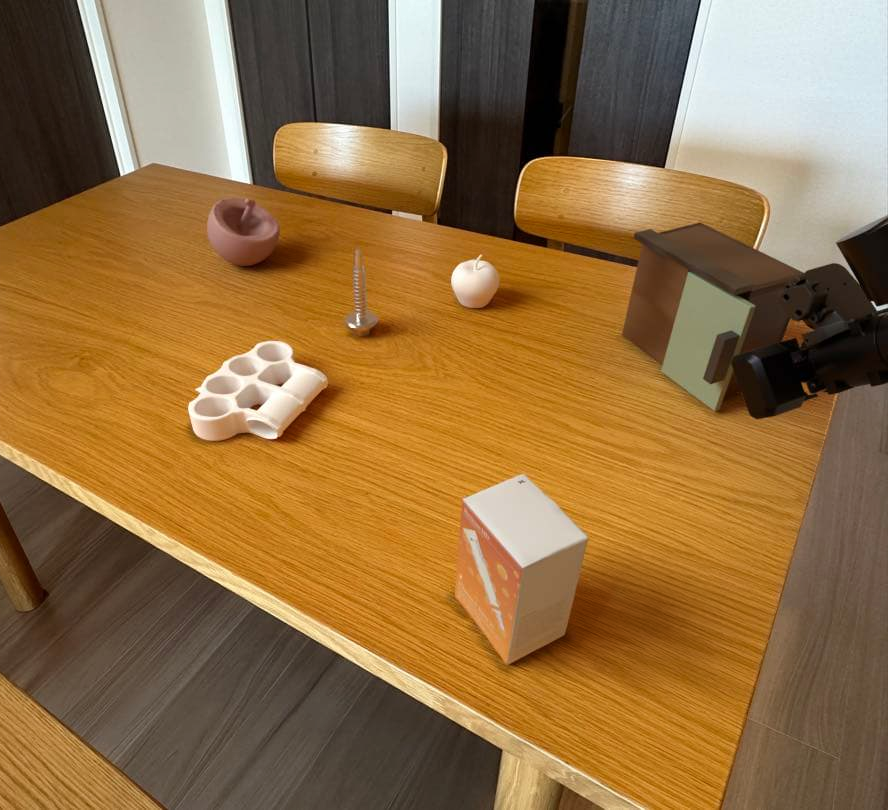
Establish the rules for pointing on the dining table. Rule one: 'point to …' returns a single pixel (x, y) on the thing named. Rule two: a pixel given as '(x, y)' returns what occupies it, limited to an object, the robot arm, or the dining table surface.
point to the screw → (360, 301)
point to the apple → (475, 283)
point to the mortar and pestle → (242, 231)
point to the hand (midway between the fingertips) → (755, 378)
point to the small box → (518, 566)
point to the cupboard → (715, 262)
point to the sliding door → (706, 339)
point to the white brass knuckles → (255, 394)
